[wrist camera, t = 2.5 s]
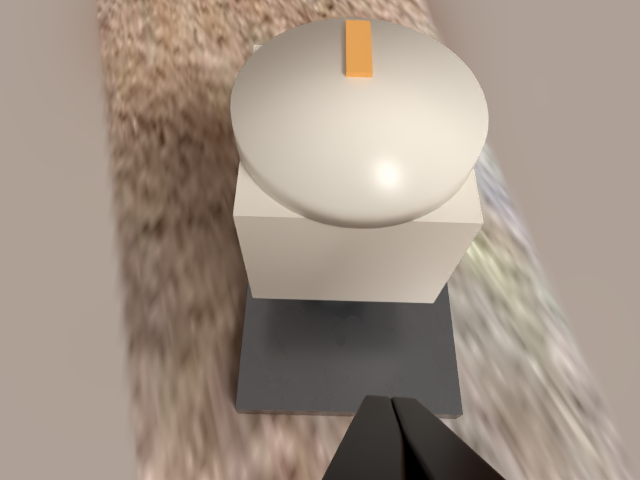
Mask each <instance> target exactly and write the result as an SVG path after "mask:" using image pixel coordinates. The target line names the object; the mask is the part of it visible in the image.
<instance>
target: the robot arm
mask: <svg viewBox="0 0 640 480" xmlns="http://www.w3.org/2000/svg"><path fill="white" fill-rule="evenodd" d="M322 480H506V479H504V478H503V477H502V476H501V475H500V474H499V473H498V472H497V471H496V470H495V469H493V468H492V467H491V466H490V465H489V464H488V463H487V462H486V461H485V460H484V459H482V458H481V457H480V456H479V455H478V454H477V453H476V452H475V451H474V450H473V449H471V448H470V447H469V446H468V445H467V444H466V443H465V442H464V441H463V440H462V439H460V438H459V437H458V436H457V435H456V434H455V433H454V432H453V431H452V430H450V429H449V428H448V427H447V426H446V425H445V424H444V423H443V422H442V421H441V420H439V419H438V418H437V417H436V416H435V415H434V414H433V413H432V412H431V411H430V410H428V409H427V408H426V407H425V406H424V405H423V404H422V403H421V402H420V401H419V400H417V399H416V398H414V397H400V396H394V397H392V398H391V399H390V397H388V396H383V395H366V396H365V397H364V399H363V401H362V403H361V405H360V407H359V409H358V410H357V412H356V414H355V416H354V418H353V420H352V422H351V424H350V426H349V428H348V430H347V432H346V434H345V436H344V438H343V440H342V442H341V443H340V445H339V447H338V449H337V451H336V453H335V455H334V457H333V459H332V461H331V463H330V465H329V467H328V469H327V471H326V473H325V475H324V476H323V478H322Z"/></svg>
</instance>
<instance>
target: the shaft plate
mask: <svg viewBox="0 0 640 480" xmlns="http://www.w3.org/2000/svg"><path fill="white" fill-rule="evenodd" d="M366 395H383V396H388V397H390V399H391V398H392V397H394V396H400V397H414V398H416V399H417V400H419V401H420V402H421V403H422V404H423V405H424V406H425V407H426V408H427V409H428V410H430V411H431V412H432V413H433V414H434V415H435V416H436V417H437V418H450V419H456V418H458V417H460V416H461V415H463V412H462V404H461V396H460V387H459V379H458V371H457V362H456V354H455V345H454V337H453V329H452V320H451V312H450V303H449V295H448V287H447V282H446V284H445V285H444V287H443V289H442V290H441V292H440V293H439V295H438V297H437V298H436V300H435V301H434V303H408V302H373V301H338V300H303V299H267V298H253V297H252V293H251V289H250V285H249V281H248V287H247V297H246V307H245V317H244V327H243V337H242V347H241V357H240V367H239V377H238V387H237V398H236V408H235V409H236V411H237V412H238V413H246V414H287V415H328V416H355V414H356V412H357V410H358V409H359V407H360V405H361V403H362V401H363V399H364V397H365V396H366Z"/></svg>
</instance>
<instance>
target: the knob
mask: <svg viewBox="0 0 640 480" xmlns="http://www.w3.org/2000/svg"><path fill="white" fill-rule="evenodd" d="M230 111H231V120H232V126H233V131H234V137H235V142H236V146H237V150H238V153H239V156H240V163H239V171H238V179H237V187H236V195H235V203H234V211H233V218H234V222H235V227H236V231H237V235H238V239H239V243H240V247H241V251H242V256H243V260H244V264H245V268H246V272H247V276H248V281H249V285H250V289H251V293H252V297H253V298H267V299H303V300H338V301H373V302H408V303H434V301H435V300H436V298H437V297H438V295H439V293H440V292H441V290H442V289H443V287H444V285H445V284H446V282H447V281H448V279H449V277H450V276H451V274H452V273H453V271H454V269H455V268H456V266H457V265H458V263H459V261H460V260H461V258H462V257H463V255H464V254H465V252H466V250H467V249H468V247H469V246H470V244H471V242H472V241H473V239H474V238H475V236H476V234H477V233H478V231H479V230H480V228H481V226H482V225H483V218H482V212H481V207H480V201H479V195H478V189H477V183H476V177H475V171H474V165H475V163H476V161H477V159H478V157H479V155H480V152H481V150H482V148H483V146H484V144H485V140H486V136H487V132H488V118H489V117H488V109H487V103H486V100H485V97H484V93H483V91H482V89H481V87H480V85H479V83H478V81H477V79H476V78H475V76H474V75H473V73H472V72H471V70H470V69H469V68H468V67H467V66H466V65H465V64H464V62H463V61H462V60H461V59H460V58H459V57H458V56H456V55H455V54H454V53H453V52H452V51H451V50H449V49H448V48H447V47H445V46H444V45H442V44H441V43H439V42H438V41H436V40H434V39H432V38H431V37H429V36H427V35H425V34H423V33H421V32H418V31H416V30H414V29H411V28H408V27H405V26H402V25H399V24H395V23H391V22H387V21H381V20H375V19H367V18H335V19H326V20H320V21H315V22H311V23H307V24H304V25H300V26H297V27H295V28H292V29H290V30H287V31H285V32H283V33H281V34H279V35H277V36H276V37H274V38H272V39H271V40H269V41H268V42H266V43H265V44H263V45H254V51H253V54H252V56H251V57H250V58H249V59H248V60H247V61H246V62H245V64H244V66H243V67H242V69H241V70H240V72H239V74H238V76H237V78H236V81H235V83H234V86H233V90H232V94H231V104H230Z"/></svg>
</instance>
